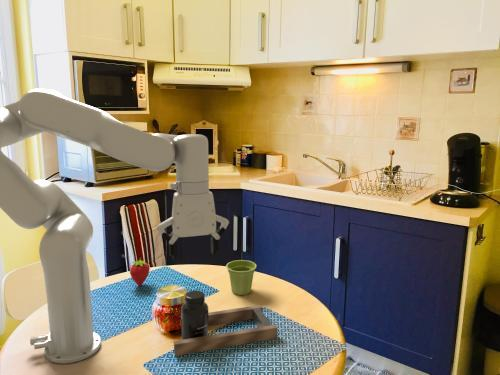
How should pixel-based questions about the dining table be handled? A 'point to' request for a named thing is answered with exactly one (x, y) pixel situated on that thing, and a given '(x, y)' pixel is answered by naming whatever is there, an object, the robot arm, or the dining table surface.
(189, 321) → the supplement bottle
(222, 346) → the channel
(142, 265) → the strawberry
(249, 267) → the plant pot
